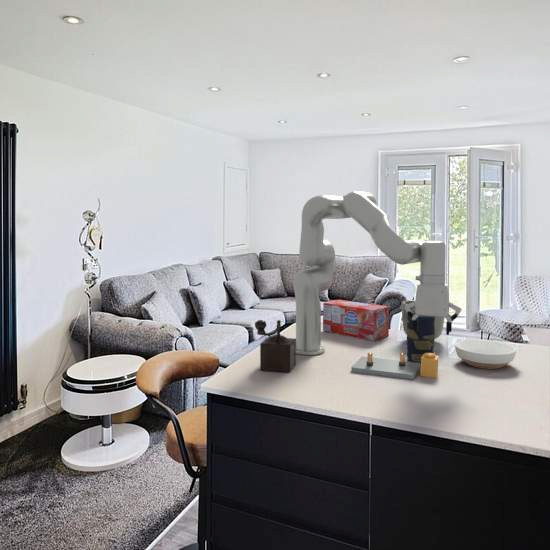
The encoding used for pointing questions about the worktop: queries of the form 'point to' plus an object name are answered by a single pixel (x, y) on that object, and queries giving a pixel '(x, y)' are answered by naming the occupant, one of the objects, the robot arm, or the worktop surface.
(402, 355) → the copper post
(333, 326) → the box
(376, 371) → the plate
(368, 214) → the robot arm
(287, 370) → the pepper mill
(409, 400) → the worktop surface
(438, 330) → the planter
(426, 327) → the canister
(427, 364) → the yellow cube with sphere
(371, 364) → the copper post
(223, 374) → the worktop surface
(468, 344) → the bowl
